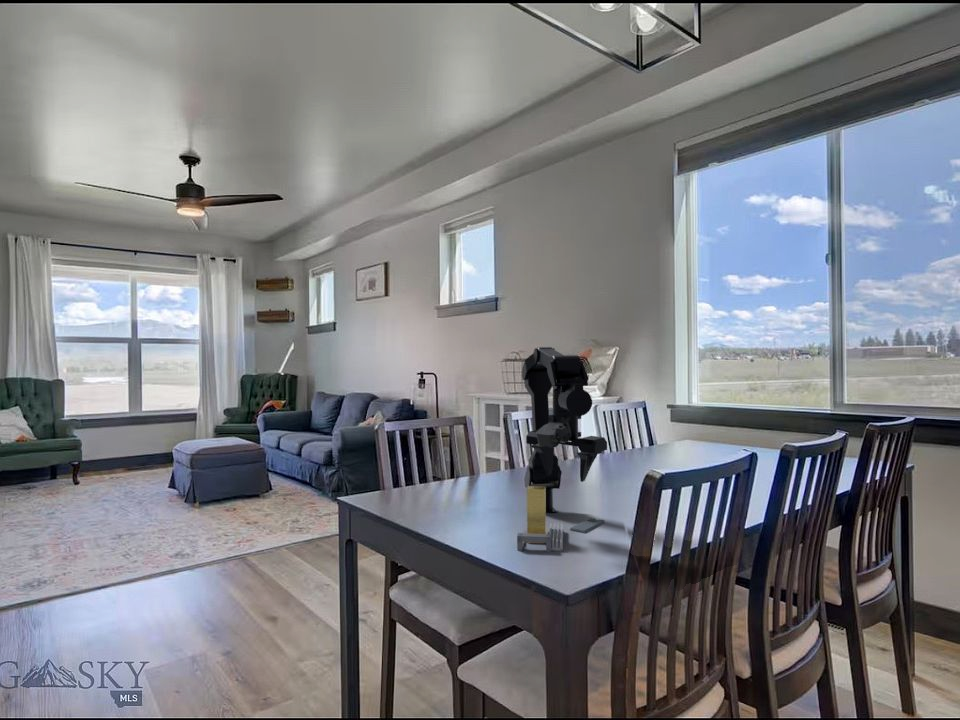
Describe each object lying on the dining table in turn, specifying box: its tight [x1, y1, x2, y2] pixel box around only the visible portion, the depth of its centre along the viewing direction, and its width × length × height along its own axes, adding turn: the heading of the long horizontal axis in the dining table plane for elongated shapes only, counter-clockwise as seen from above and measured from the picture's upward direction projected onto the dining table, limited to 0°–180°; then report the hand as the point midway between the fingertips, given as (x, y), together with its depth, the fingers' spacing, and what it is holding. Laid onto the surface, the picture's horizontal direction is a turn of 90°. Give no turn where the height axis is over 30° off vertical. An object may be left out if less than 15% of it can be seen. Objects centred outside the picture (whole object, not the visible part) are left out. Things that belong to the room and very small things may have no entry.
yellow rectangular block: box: [526, 486, 547, 544], centre depth 129 cm, size 6×4×11 cm, turn 171°
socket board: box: [516, 522, 564, 553], centre depth 128 cm, size 16×12×4 cm
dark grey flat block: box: [569, 517, 606, 534], centre depth 138 cm, size 4×10×2 cm, turn 143°
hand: (565, 478), depth 134 cm, fingers open, 9 cm apart
